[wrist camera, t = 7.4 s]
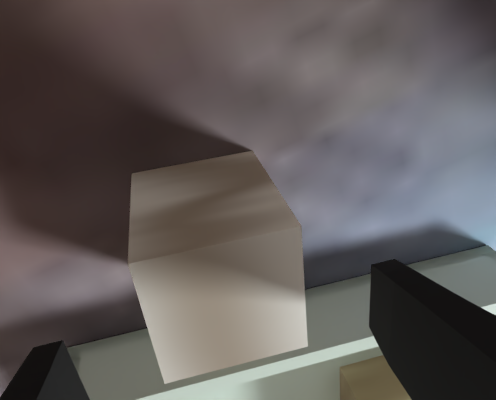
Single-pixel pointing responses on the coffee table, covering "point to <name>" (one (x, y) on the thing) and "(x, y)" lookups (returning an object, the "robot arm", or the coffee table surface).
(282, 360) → the tray
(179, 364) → the part birch
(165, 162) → the coffee table surface
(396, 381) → the part oak
